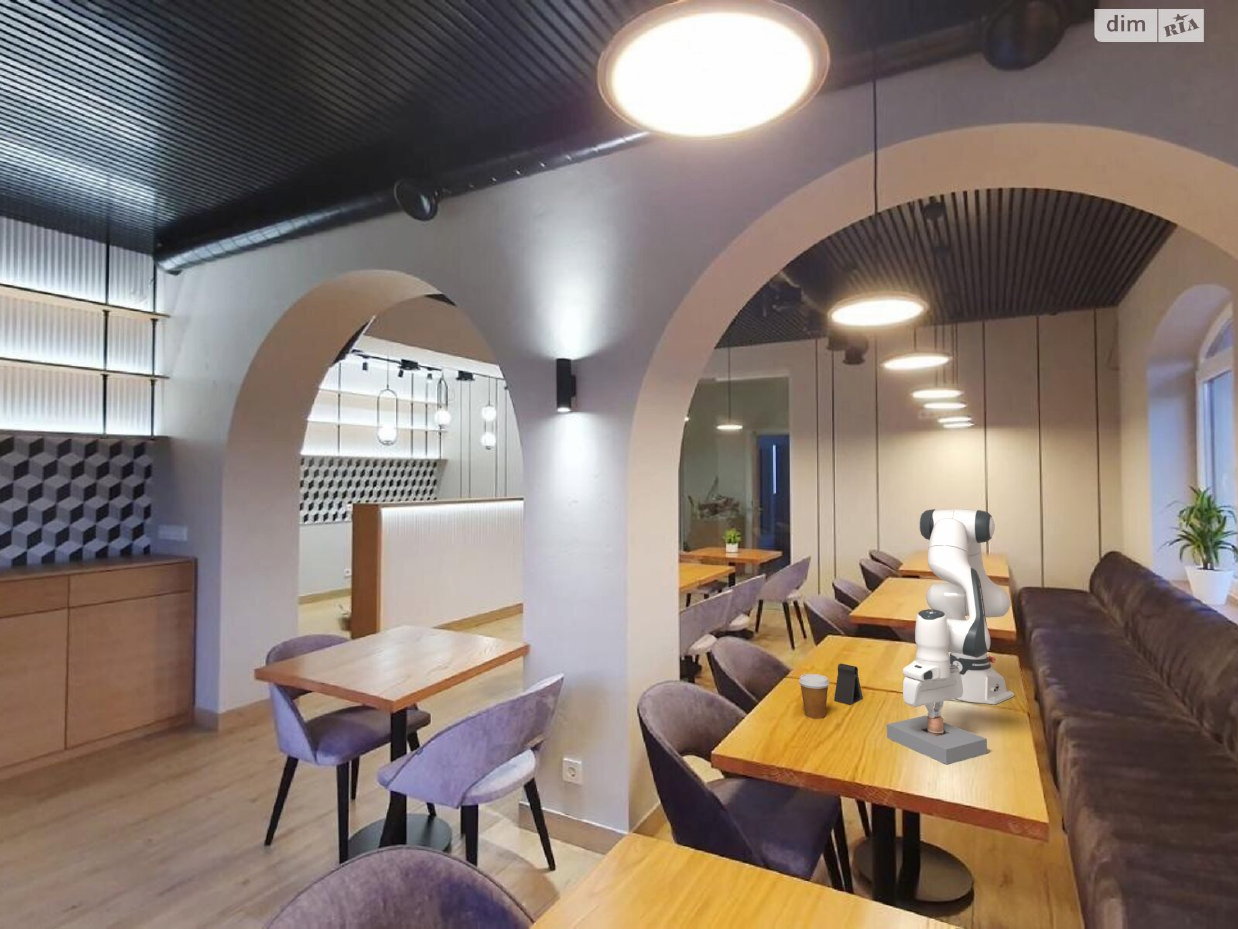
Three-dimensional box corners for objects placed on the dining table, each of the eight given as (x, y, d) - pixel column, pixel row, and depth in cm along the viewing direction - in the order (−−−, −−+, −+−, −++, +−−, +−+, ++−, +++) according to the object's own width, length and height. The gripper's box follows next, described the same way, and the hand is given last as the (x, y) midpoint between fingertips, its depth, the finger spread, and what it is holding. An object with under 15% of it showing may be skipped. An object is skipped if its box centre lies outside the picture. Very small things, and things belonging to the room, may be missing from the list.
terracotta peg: (934, 741, 185) (934, 713, 185) (947, 747, 181) (946, 718, 181) (924, 744, 183) (924, 715, 183) (936, 749, 179) (936, 720, 179)
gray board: (926, 728, 194) (925, 715, 194) (987, 753, 176) (986, 738, 176) (887, 738, 188) (886, 724, 188) (946, 764, 169) (946, 749, 170)
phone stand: (850, 705, 215) (849, 669, 216) (834, 701, 220) (833, 666, 220) (863, 699, 222) (862, 664, 222) (846, 695, 226) (845, 661, 226)
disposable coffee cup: (826, 722, 201) (825, 684, 201) (796, 717, 206) (795, 679, 206) (833, 713, 209) (832, 676, 209) (804, 708, 214) (803, 672, 214)
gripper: (948, 661, 190) (950, 708, 189) (898, 669, 181) (899, 719, 181) (968, 666, 184) (969, 714, 183) (916, 675, 176) (918, 726, 175)
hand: (934, 717), depth 182 cm, fingers closed, pressing on terracotta peg
